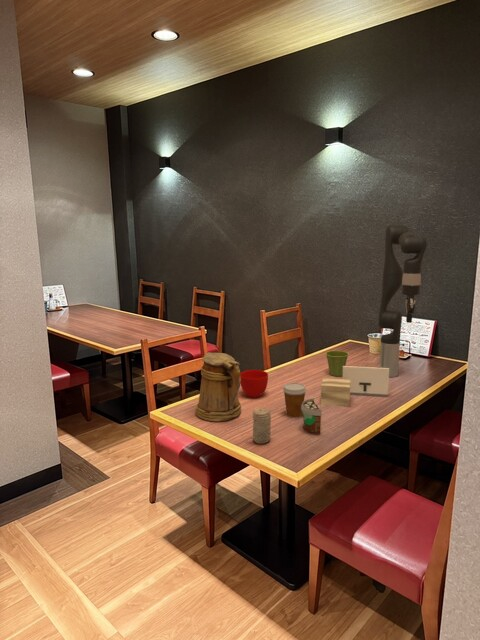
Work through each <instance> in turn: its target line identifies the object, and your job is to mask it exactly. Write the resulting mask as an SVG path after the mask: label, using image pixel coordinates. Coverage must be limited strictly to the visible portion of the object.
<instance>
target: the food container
mask: <svg viewBox="0 0 480 640" xmlns="http://www.w3.org/2000/svg"><path fill="white" fill-rule="evenodd" d="M301 410H302V416H303V417H302V419H303V429H304V431H305V432H307V433H309V434H313V435H320V434H321V425H322V424H321V423H322V409H320V408H319V407H318V404H316V402H315V398H308V399H304V402H303V403H302V406H301Z"/></svg>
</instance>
